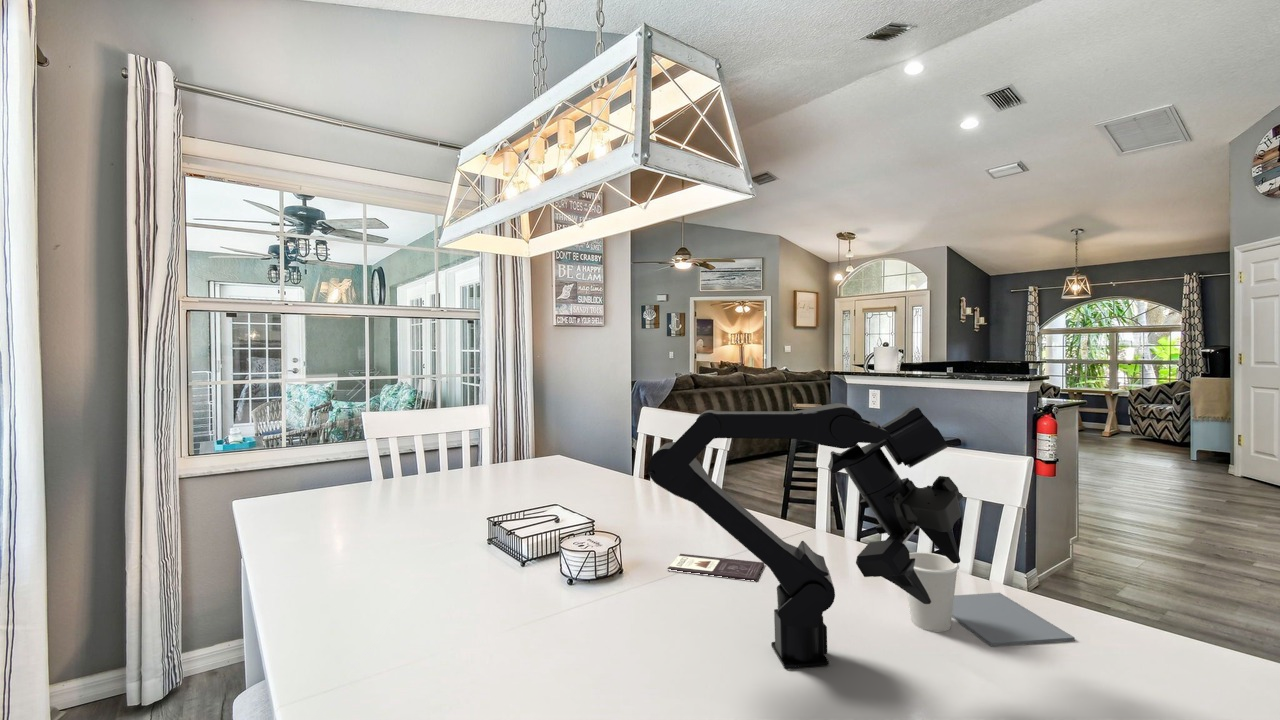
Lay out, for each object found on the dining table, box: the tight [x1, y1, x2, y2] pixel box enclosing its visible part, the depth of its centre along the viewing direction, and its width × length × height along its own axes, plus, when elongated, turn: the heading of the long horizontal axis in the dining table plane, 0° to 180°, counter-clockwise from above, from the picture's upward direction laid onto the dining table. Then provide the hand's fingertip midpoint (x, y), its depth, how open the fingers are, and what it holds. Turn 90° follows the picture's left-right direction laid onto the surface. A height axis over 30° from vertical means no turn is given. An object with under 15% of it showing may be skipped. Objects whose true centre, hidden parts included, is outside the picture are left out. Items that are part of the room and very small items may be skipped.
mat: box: [951, 592, 1076, 647], centre depth 93 cm, size 13×16×1 cm
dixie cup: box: [906, 551, 960, 633], centre depth 92 cm, size 8×8×10 cm
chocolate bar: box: [666, 553, 765, 582], centre depth 118 cm, size 9×1×18 cm
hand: (943, 582), depth 79 cm, fingers open, 9 cm apart
